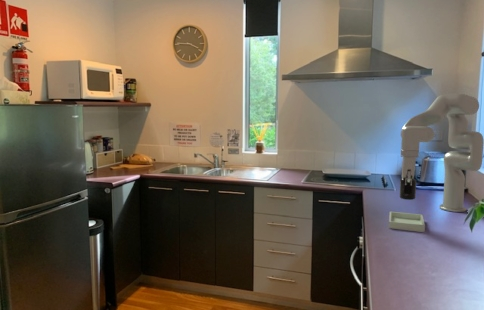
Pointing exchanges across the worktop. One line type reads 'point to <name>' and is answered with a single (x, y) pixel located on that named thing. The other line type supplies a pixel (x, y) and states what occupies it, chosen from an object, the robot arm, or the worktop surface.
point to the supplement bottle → (402, 194)
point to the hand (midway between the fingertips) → (407, 191)
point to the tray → (406, 221)
